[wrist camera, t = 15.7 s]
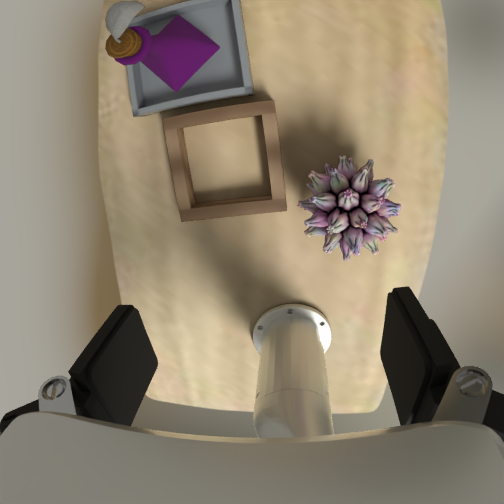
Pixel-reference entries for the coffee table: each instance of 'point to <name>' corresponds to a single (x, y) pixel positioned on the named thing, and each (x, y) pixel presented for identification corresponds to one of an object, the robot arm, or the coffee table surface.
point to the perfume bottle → (158, 45)
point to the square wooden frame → (182, 170)
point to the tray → (211, 73)
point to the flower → (349, 208)
